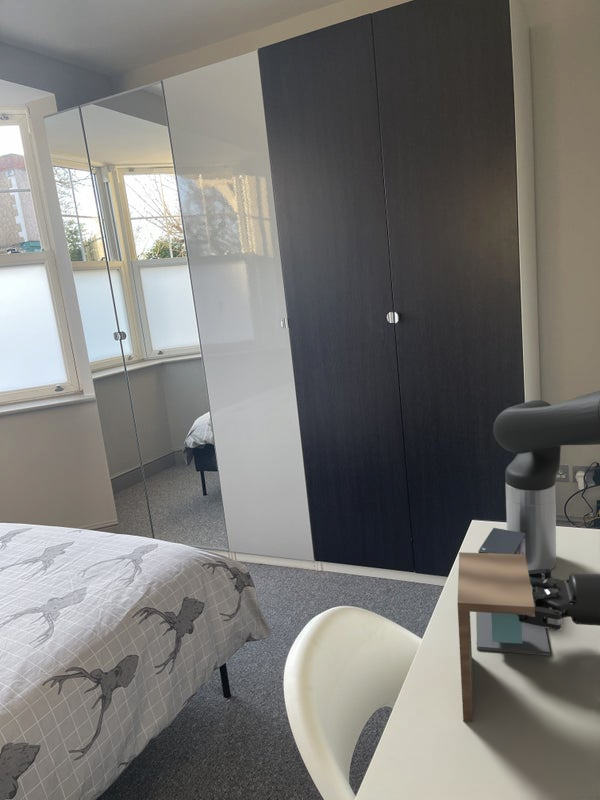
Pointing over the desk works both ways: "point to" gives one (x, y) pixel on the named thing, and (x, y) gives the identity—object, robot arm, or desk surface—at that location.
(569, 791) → the desk surface
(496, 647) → the rubber mat
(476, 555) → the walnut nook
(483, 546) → the small box
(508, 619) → the teal block
